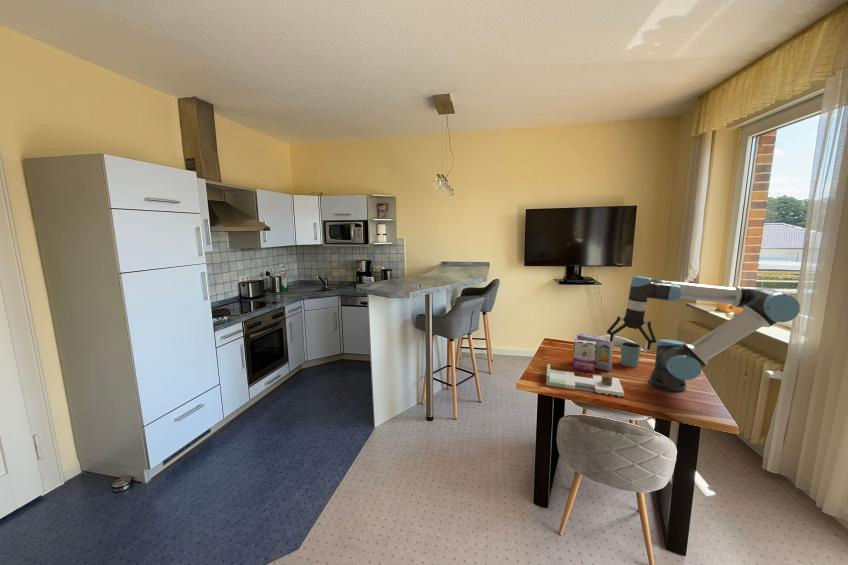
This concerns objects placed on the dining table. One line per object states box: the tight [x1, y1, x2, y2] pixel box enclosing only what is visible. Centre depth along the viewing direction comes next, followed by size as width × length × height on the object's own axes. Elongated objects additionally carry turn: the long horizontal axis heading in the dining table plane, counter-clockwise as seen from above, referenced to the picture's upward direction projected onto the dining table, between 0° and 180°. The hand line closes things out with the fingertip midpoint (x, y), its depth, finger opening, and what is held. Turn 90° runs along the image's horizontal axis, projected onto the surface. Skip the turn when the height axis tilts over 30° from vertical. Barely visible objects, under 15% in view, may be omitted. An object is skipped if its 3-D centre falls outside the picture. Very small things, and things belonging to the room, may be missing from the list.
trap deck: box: [545, 363, 625, 398], centre depth 173 cm, size 34×16×5 cm, turn 69°
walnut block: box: [601, 373, 613, 386], centre depth 169 cm, size 4×4×4 cm
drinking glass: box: [620, 341, 642, 368], centre depth 197 cm, size 10×10×12 cm
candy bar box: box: [572, 338, 596, 373], centre depth 190 cm, size 11×5×16 cm, turn 62°
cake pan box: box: [576, 332, 613, 372], centre depth 194 cm, size 19×5×18 cm, turn 42°
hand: (627, 351), depth 164 cm, fingers open, 13 cm apart
